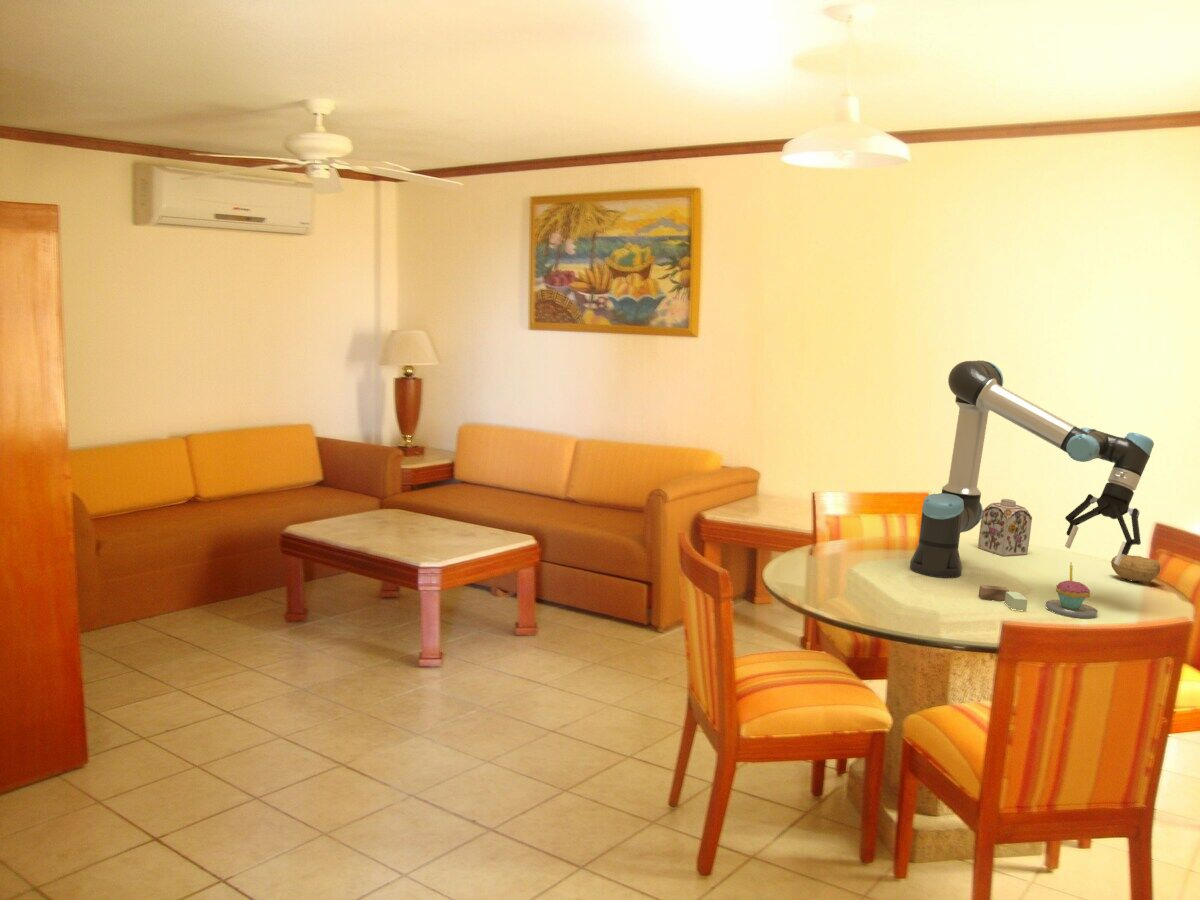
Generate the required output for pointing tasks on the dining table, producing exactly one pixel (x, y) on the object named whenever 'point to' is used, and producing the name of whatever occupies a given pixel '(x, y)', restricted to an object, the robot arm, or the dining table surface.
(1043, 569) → the dining table surface
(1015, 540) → the decorative jar
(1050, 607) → the plate
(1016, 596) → the sage brick
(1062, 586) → the cupcake
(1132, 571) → the potato
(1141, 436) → the robot arm
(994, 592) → the walnut brick
